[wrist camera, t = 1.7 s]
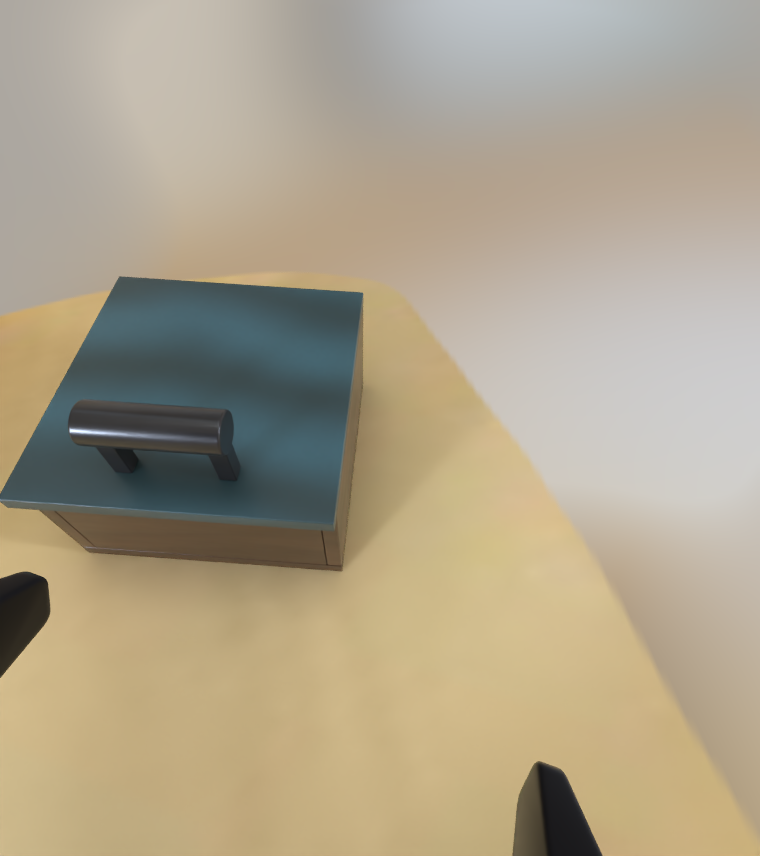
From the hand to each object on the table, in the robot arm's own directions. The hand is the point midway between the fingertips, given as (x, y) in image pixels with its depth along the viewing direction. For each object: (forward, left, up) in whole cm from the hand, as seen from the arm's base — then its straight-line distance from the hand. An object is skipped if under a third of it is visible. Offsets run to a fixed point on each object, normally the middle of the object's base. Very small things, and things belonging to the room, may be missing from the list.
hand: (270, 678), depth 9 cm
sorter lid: (+3, +14, -8) cm, 16 cm away
